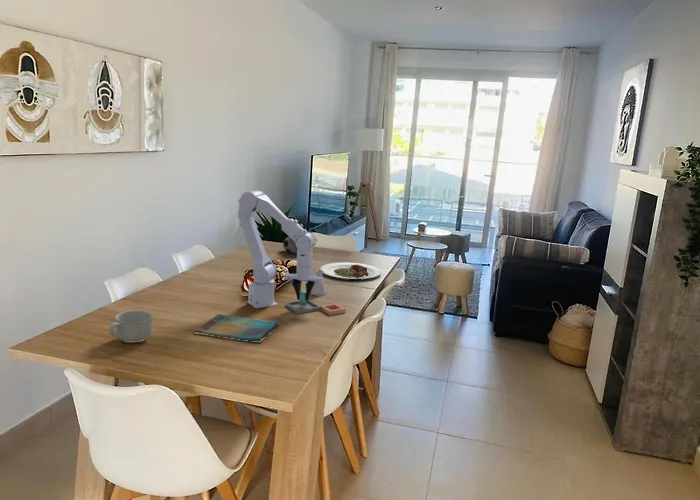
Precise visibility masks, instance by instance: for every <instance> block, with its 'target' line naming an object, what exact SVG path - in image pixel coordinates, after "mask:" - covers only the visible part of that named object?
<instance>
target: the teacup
mask: <svg viewBox="0 0 700 500" xmlns="http://www.w3.org/2000/svg"><path fill="white" fill-rule="evenodd" d="M114 317H115V318H114V319H115V322H112V323H111V324H110V325H109V327H108V333H109V334H110V335H111V336H112V337H114V338H117V340H121V341H122V340H124V341H140V340H143V339H146V338H147V339H148V338H149V337H151V335H152V331H153V318H154V316H153V314H152V313H151V312H148V311H145V310H127V311H122V312H120V313H118V314H116V315H115V316H114ZM114 329H115V332H114ZM147 339H146V340H147Z"/></svg>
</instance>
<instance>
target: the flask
mask: <svg viewBox="0 0 700 500" xmlns="http://www.w3.org/2000/svg"><path fill="white" fill-rule="evenodd" d="M315 273H316V275H315V276H317V277H323V275H324V273H323V271H322V270H320V269H316V270H315ZM323 278H324V277H323ZM325 285H326V284H325V282H324V281H323V283H322V284H320V283H316V282H315V284H314V286H313V288H312V290H311V293H310V296H311V295H313V296H316V297H321V296H326V295H327V294H328V293H327V289H326V286H325Z"/></svg>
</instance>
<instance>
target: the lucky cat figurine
mask: <svg viewBox="0 0 700 500" xmlns="http://www.w3.org/2000/svg"><path fill="white" fill-rule="evenodd" d="M314 239H315V242H314V244H313V245H312V246H311V247H312V248H314V246H316V245H317V243H318V239H317V238H316V237H315V236H314ZM282 245H283V248H284V250H285V252H288V253H289V254H290V253H291V254H290V255H297V250H298V248H297V247H296V244H295V241H293V240H292V239H291V238H290V237H289V236H288V237H286V238H285V239H284V240H283V243H282Z"/></svg>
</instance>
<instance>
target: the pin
mask: <svg viewBox="0 0 700 500" xmlns="http://www.w3.org/2000/svg"><path fill="white" fill-rule="evenodd" d="M298 301H299V305H301V306H306V305H307V301H306V290H301V291H300V292H299V300H298Z"/></svg>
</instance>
